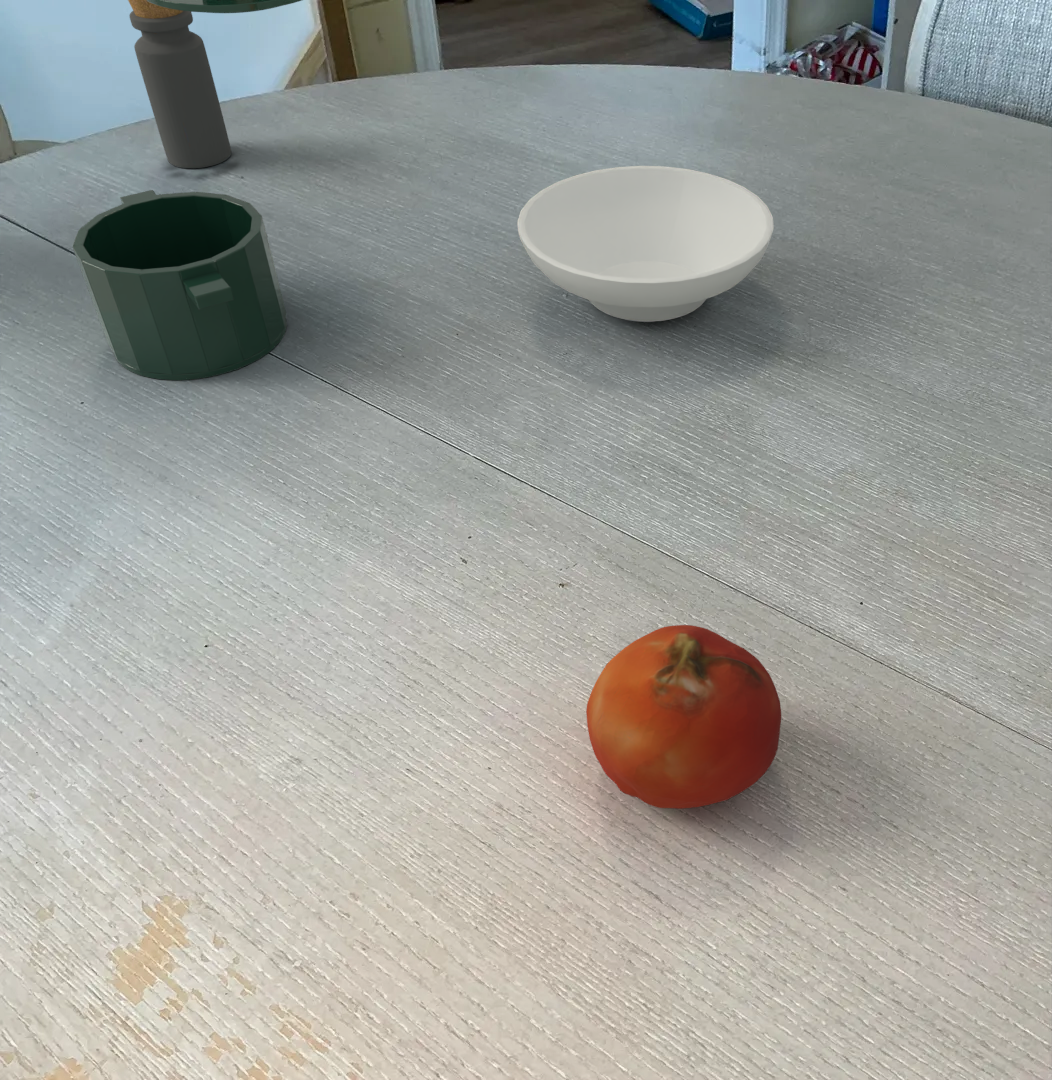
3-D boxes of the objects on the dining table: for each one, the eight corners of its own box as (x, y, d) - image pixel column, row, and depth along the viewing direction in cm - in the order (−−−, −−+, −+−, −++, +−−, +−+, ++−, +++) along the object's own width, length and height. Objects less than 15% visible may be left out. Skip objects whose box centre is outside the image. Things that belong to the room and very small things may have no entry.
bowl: (482, 337, 89) (472, 255, 85) (580, 226, 103) (576, 151, 99) (728, 385, 85) (731, 302, 81) (795, 262, 99) (801, 186, 95)
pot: (151, 418, 81) (112, 309, 75) (84, 307, 91) (45, 204, 86) (325, 363, 86) (301, 257, 80) (242, 264, 97) (216, 165, 91)
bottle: (154, 164, 111) (103, -4, 101) (189, 140, 115) (144, -23, 105) (210, 172, 110) (164, 3, 100) (244, 147, 114) (202, -17, 104)
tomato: (553, 783, 58) (541, 674, 53) (661, 670, 64) (660, 562, 59) (707, 876, 55) (711, 769, 49) (808, 747, 60) (820, 639, 55)
